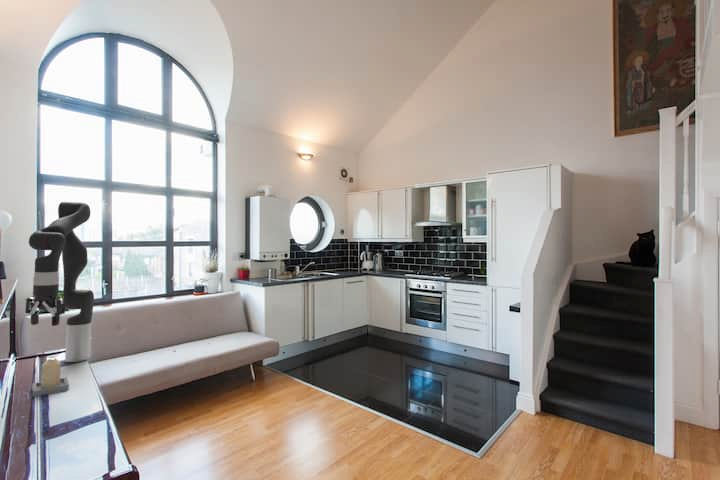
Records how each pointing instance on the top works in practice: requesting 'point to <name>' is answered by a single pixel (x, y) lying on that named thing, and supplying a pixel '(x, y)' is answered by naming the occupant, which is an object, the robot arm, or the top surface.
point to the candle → (50, 373)
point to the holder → (50, 388)
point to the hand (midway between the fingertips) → (44, 325)
